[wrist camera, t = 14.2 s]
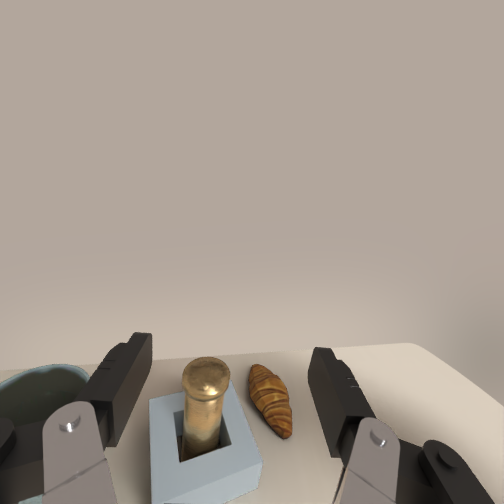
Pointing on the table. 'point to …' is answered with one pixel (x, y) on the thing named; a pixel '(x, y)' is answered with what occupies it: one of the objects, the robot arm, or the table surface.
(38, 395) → the teal plant pot
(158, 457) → the frame
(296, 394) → the table surface
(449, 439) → the table surface
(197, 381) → the brass flanged cylinder
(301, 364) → the table surface
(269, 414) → the croissant
